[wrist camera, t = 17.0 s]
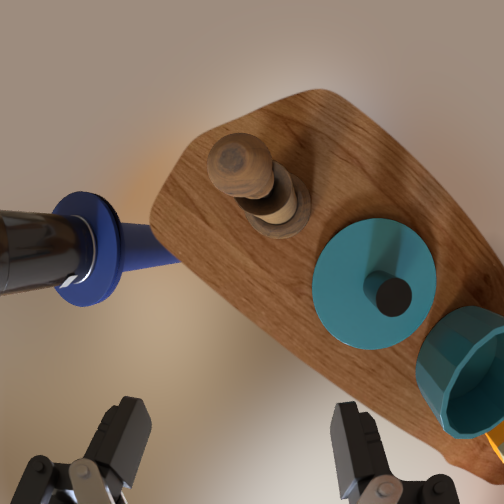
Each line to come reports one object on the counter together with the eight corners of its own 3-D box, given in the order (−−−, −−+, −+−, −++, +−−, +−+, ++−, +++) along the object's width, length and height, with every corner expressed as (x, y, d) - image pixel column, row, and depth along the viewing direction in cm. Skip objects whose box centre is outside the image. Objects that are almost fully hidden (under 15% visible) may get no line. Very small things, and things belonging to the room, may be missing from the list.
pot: (450, 416, 25) (474, 452, 17) (394, 372, 27) (416, 411, 19) (511, 340, 24) (547, 361, 15) (464, 284, 25) (505, 296, 17)
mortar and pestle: (323, 219, 28) (340, 187, 11) (266, 250, 30) (201, 263, 12) (291, 163, 29) (261, 67, 11) (237, 194, 30) (143, 140, 12)
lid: (377, 368, 28) (392, 399, 21) (285, 295, 29) (277, 311, 22) (453, 272, 26) (486, 280, 19) (365, 192, 27) (380, 177, 20)
